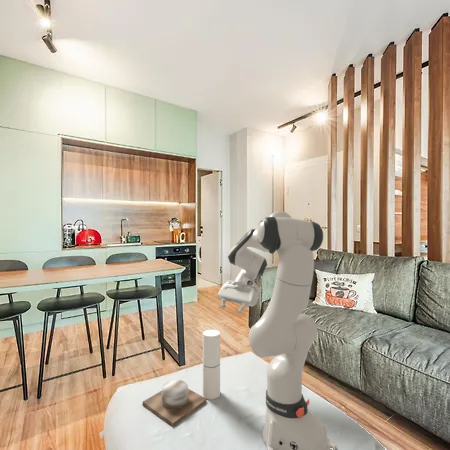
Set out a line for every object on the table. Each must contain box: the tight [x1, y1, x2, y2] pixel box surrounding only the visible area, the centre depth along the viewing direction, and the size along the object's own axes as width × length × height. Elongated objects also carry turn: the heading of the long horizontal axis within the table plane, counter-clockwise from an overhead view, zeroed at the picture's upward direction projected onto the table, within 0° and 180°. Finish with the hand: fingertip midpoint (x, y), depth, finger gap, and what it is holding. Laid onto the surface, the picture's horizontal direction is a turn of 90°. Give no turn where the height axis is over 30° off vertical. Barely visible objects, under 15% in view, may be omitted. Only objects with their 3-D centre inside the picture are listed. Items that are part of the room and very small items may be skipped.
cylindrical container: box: [202, 329, 221, 400], centre depth 111 cm, size 7×7×25 cm
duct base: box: [142, 379, 208, 427], centre depth 105 cm, size 18×17×6 cm
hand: (230, 310), depth 121 cm, fingers open, 8 cm apart
